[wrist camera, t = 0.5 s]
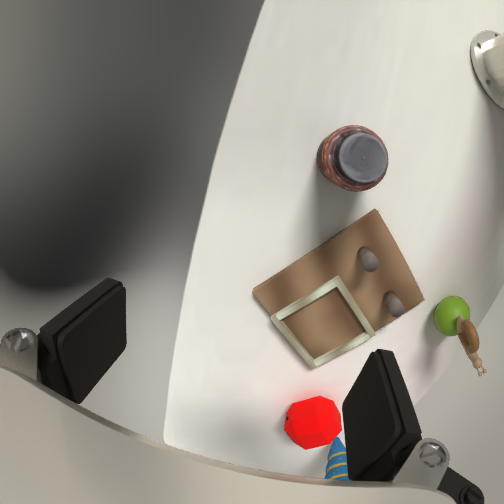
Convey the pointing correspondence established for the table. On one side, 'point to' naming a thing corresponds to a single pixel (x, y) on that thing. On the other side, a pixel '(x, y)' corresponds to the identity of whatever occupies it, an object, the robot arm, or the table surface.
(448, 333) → the snail figurine
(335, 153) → the supplement bottle
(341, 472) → the ornament
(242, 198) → the table surface
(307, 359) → the pin board
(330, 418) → the ball
